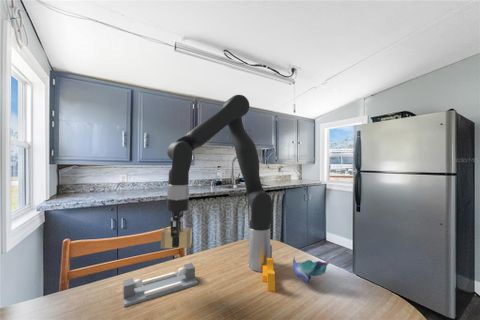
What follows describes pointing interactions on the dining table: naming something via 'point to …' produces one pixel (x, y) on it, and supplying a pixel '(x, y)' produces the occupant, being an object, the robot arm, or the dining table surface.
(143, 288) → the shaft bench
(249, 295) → the dining table surface
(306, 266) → the figurine
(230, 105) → the robot arm
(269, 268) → the pipe clamp
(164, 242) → the tan tapered block
